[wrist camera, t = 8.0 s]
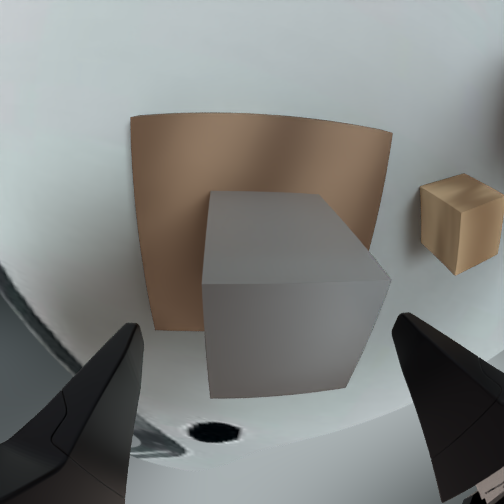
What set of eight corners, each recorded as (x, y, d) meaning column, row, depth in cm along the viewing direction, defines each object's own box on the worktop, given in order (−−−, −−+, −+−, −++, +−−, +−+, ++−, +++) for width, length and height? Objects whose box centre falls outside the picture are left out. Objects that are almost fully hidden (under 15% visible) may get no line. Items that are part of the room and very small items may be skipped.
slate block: (318, 194, 13) (391, 279, 7) (304, 282, 16) (345, 387, 10) (210, 190, 13) (201, 283, 7) (211, 283, 15) (210, 398, 9)
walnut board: (380, 129, 13) (392, 133, 12) (340, 312, 19) (346, 324, 18) (137, 115, 12) (130, 117, 11) (157, 316, 18) (155, 330, 17)
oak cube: (463, 173, 15) (505, 195, 11) (461, 225, 17) (497, 253, 13) (419, 186, 15) (461, 212, 12) (420, 242, 17) (455, 275, 14)
